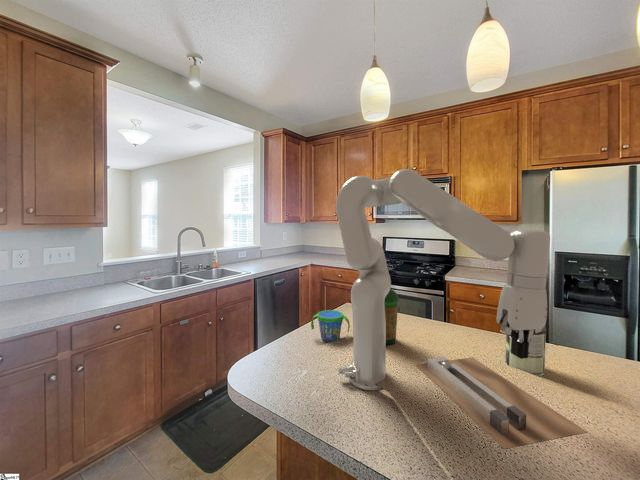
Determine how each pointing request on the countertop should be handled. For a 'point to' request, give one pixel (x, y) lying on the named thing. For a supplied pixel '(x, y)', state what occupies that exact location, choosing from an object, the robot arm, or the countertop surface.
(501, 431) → the tongs fixed arm
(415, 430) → the countertop surface
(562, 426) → the walnut board
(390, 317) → the bottle
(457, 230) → the robot arm
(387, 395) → the countertop surface
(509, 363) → the coffee can
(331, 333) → the snack cup
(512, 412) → the tongs arm
